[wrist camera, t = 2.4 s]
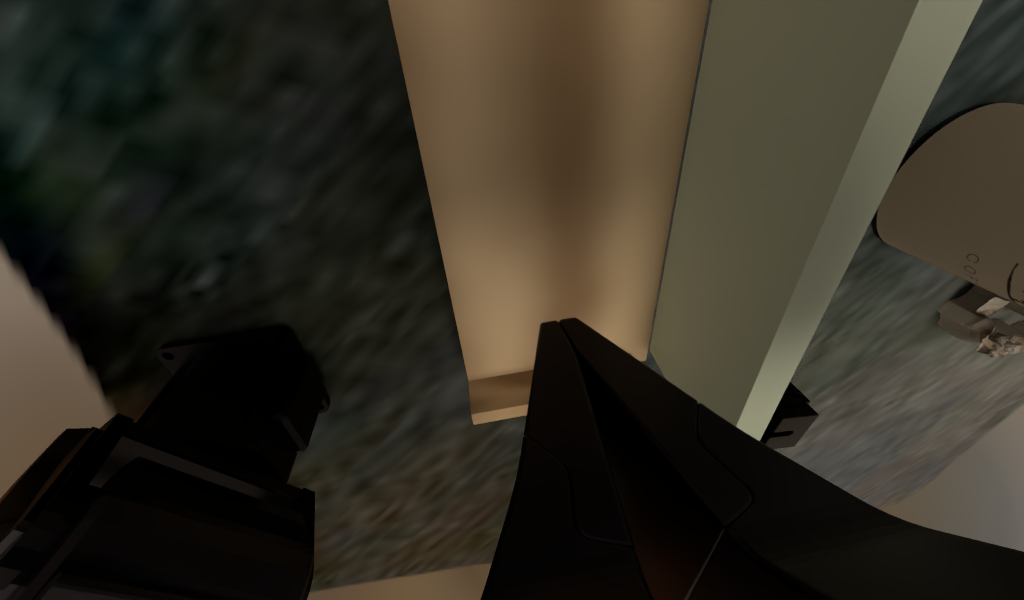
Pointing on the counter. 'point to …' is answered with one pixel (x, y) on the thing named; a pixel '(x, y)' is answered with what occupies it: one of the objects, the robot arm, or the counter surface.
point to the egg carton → (983, 322)
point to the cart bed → (548, 166)
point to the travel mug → (965, 200)
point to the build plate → (789, 420)
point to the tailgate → (787, 181)
